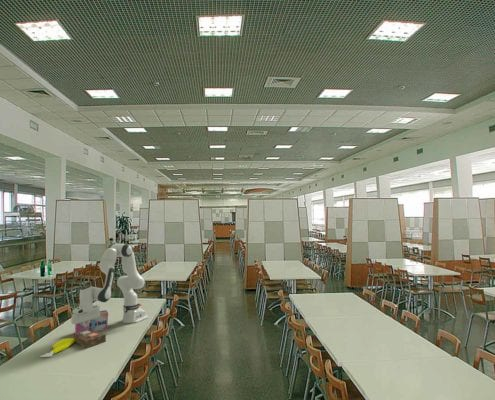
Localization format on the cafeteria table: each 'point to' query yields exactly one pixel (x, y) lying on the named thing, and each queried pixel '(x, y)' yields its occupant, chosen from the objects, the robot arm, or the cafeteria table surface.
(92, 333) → the brick key
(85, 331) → the white key
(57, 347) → the spray bottle
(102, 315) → the gum box
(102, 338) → the key panel
